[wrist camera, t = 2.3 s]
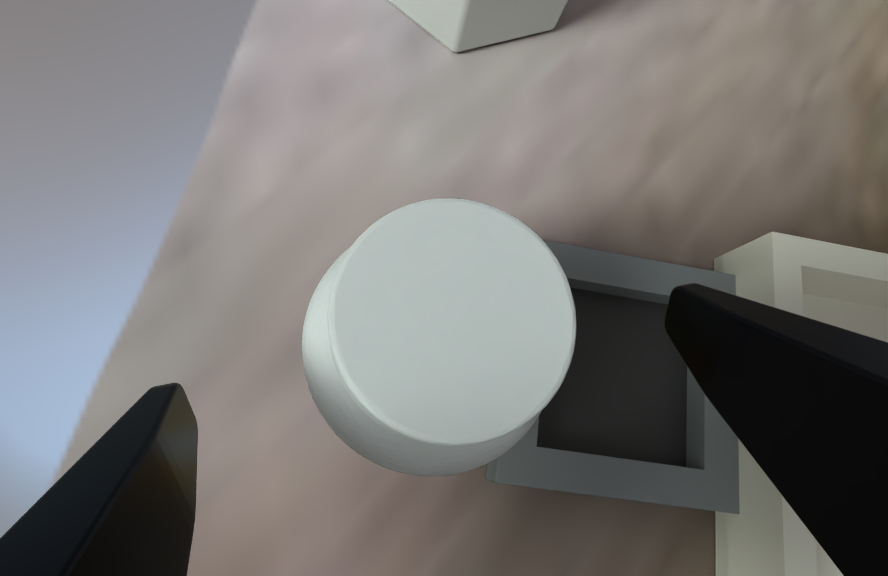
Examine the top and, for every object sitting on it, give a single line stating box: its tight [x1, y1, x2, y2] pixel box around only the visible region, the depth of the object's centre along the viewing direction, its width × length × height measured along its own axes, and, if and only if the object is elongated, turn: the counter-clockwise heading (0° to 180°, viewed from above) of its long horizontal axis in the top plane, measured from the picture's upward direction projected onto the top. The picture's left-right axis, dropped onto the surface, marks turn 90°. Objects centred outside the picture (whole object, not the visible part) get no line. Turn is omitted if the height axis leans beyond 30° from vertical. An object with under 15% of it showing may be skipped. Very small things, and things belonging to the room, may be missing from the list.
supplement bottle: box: [302, 198, 576, 476], centre depth 13 cm, size 5×5×10 cm
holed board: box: [486, 240, 740, 514], centre depth 18 cm, size 8×8×1 cm
